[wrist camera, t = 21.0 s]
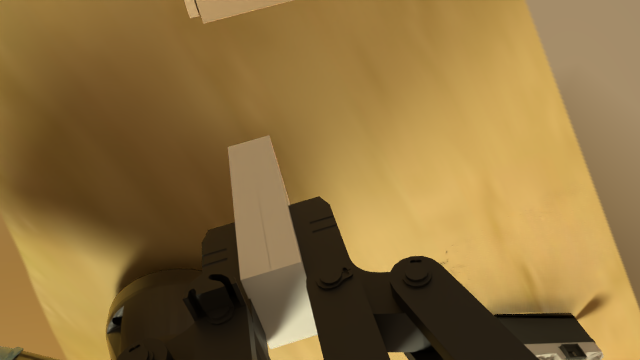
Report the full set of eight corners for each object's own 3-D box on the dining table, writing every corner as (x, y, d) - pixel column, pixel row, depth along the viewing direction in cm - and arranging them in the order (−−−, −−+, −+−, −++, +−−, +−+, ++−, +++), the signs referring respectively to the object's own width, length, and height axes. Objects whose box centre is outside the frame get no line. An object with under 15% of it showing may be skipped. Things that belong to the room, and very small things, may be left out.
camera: (468, 348, 75) (500, 408, 67) (489, 309, 71) (526, 368, 63) (553, 345, 80) (593, 401, 72) (578, 308, 75) (624, 363, 67)
